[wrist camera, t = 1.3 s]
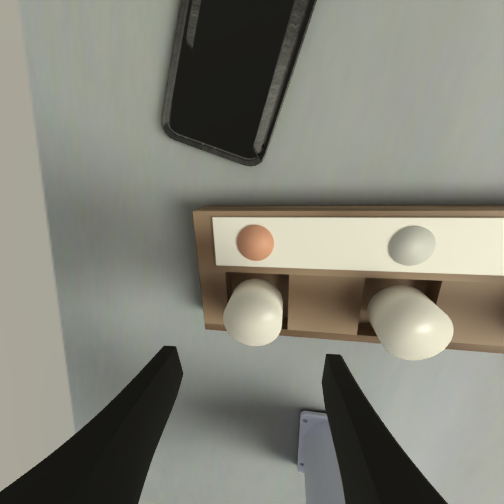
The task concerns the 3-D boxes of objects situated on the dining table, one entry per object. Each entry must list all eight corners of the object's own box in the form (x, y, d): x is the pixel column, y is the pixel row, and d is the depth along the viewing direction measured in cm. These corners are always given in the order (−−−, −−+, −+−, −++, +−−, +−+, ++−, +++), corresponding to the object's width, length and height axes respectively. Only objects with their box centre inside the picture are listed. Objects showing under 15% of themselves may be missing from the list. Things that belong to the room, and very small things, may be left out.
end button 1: (282, 325, 18) (281, 348, 16) (233, 322, 19) (224, 343, 16) (283, 279, 17) (282, 297, 14) (230, 277, 17) (221, 293, 15)
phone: (361, -143, 11) (259, 170, 16) (355, -116, 12) (261, 170, 17) (209, -190, 11) (157, 133, 17) (216, -159, 12) (165, 136, 18)
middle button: (422, 336, 16) (444, 363, 14) (363, 331, 17) (375, 357, 15) (435, 286, 15) (461, 307, 13) (371, 283, 16) (385, 302, 13)
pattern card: (649, 279, 13) (657, 281, 13) (217, 264, 17) (215, 265, 17) (685, 218, 12) (695, 219, 12) (213, 216, 16) (211, 217, 16)
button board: (583, 337, 17) (628, 363, 15) (214, 312, 22) (205, 329, 19) (654, 204, 14) (727, 210, 12) (204, 206, 19) (192, 211, 16)
